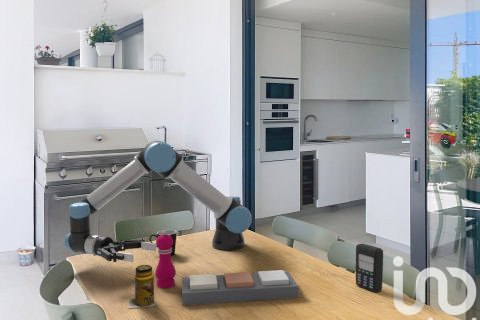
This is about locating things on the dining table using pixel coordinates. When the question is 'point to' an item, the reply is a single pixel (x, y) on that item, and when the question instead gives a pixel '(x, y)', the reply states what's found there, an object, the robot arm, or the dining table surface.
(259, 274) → the key grey
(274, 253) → the dining table surface
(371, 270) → the card reader
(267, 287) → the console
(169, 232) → the coffee mug
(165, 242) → the pepper mill
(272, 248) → the dining table surface
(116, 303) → the dining table surface
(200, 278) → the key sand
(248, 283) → the key terracotta
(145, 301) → the condiment
